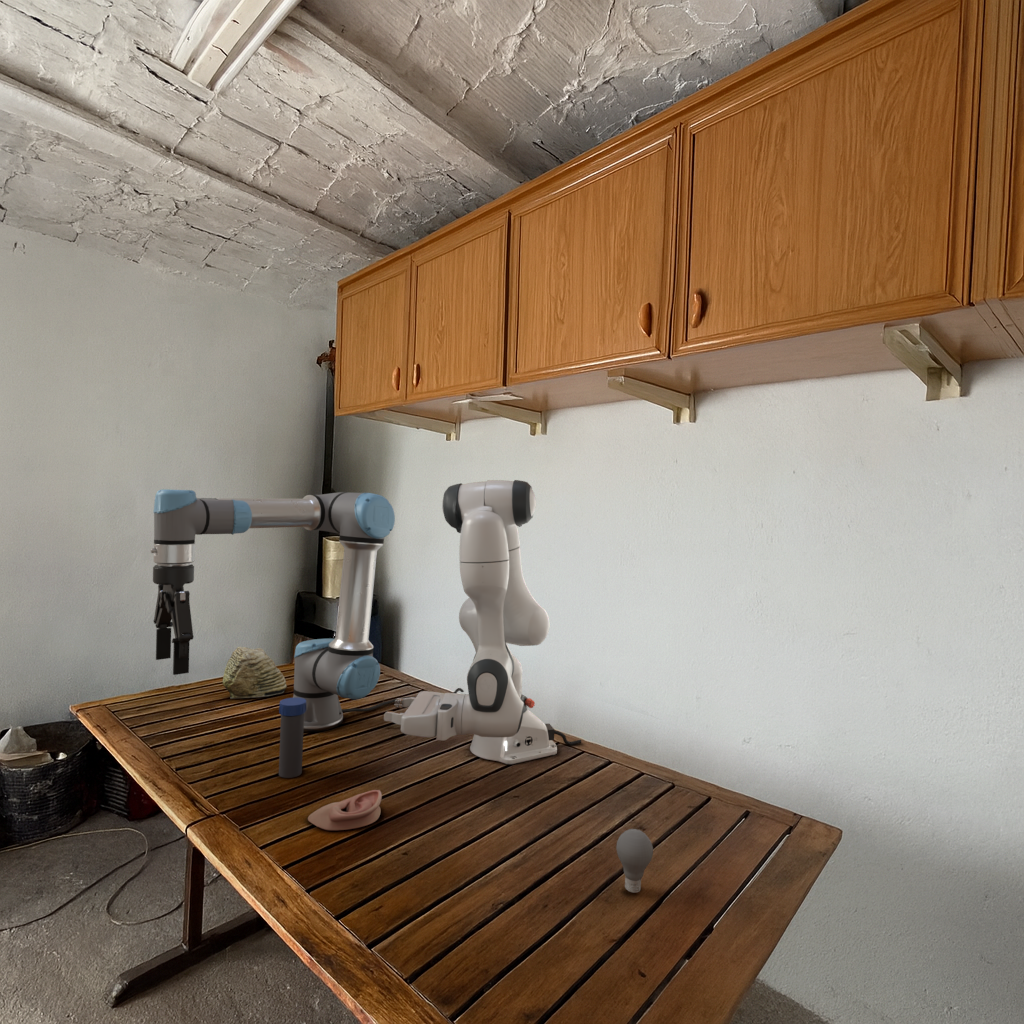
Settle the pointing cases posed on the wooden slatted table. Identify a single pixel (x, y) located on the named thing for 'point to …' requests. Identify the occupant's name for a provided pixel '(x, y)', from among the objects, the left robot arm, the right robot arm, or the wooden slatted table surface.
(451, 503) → the right robot arm
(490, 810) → the wooden slatted table surface
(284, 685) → the fossil
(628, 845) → the light bulb
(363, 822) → the anatomical model
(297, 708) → the lid
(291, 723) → the grey bottle
